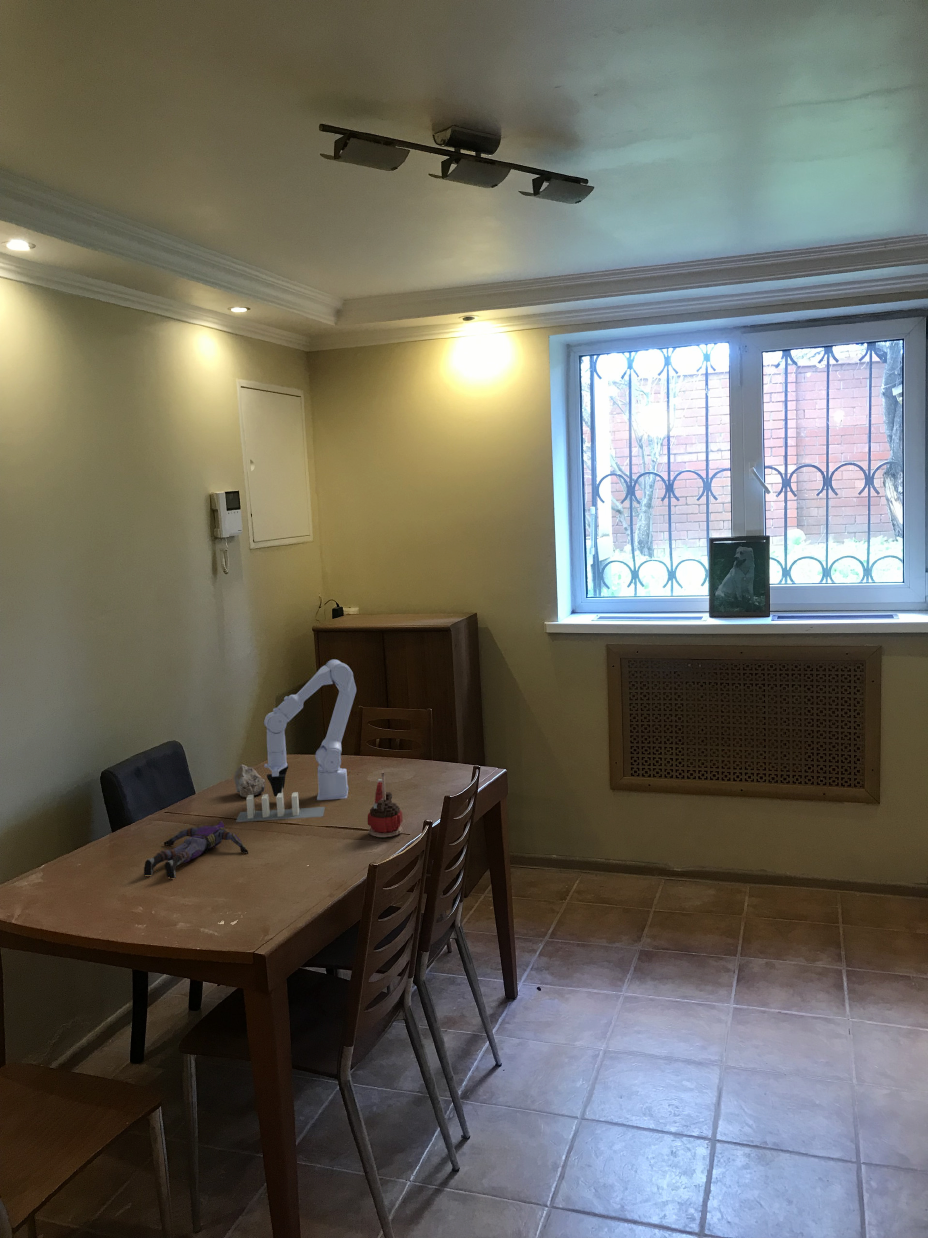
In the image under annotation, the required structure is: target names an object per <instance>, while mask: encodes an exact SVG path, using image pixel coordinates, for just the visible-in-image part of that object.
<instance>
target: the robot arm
mask: <svg viewBox="0 0 928 1238" xmlns="http://www.w3.org/2000/svg"><path fill="white" fill-rule="evenodd" d="M355 682H356V681H355V679H354V673H353V671H352V669H351V668H350V666H349V665H347V664H346V663H344V662H341V661H340V660H339V659H336V658H335V659H330V660H329V661H327V662H326V664H325V665H323V666H321V667H320V668H319V669H318V671H317V672H316V673H315V674H314V675H313V676H312V677H311V679H309V681H307V682H306V683H305V685H304V686H303V687H302V688H301V689H300V690H299V691H298V692H297V693H296V694H290V695H289V696H287V695H286V696H285V697H284V698H283V701H282V702H281V703H280V704H279V705H278V706H277V707H274V708H273V709H272V712H269V713H267V714H266V715H265V718H264V721H263V725H264V726H265V727H266V747H267V748H266V749H267V763H264V768H267V769H269V770H270V771H271V773H267V774H266V779H267V780H268V782H269V784H270V787H271V790H272V795H273V796H274V797H276V796H277V795H278V793H282V788H283V790H284V788H285V784H286V775H287V772H288V769H289V764H288V763H287V750H286V749H287V745H286V744H287V743H286V735H285V730H286V728H287V724H288V723H289V722H290V721H291V720H292V719H293V718H294V717H295V716H296V715H297V714H299V712H300V711H301V710H302V709H304V703H305V701H306V700H308V699H309V698H310V697H311V696H312V695H313V694H314V693H316V692H317V691H318V690H319V689H320V688H321V687H322V686H327V685H333V684H335V686H336V687H337V689H338V695H337V698H336V702H335V704H334V705H335V706H334V709H333V712H332V715H331V719H330V722H329V726H328V729H327V733H326V736H325V738H324V739H323V740H322V742H321V745H320V747H319V748H318V749H317V750H316V752H315V755H314V756H315V760H316V762H317V763H318V767H317V780H318V781H317V783H318V793H317V796H316V801H325V800H327V801H328V800H343V799H348V793H349V785H348V774H347V768H342V767H341V764H342V757H341V755H342V740H343V737H344V734H345V731H346V727H347V724H348V721H349V716H350V714H351V710H352V708H353V704H354V700H355V696H356V694H357V686H356V683H355Z"/></svg>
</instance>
